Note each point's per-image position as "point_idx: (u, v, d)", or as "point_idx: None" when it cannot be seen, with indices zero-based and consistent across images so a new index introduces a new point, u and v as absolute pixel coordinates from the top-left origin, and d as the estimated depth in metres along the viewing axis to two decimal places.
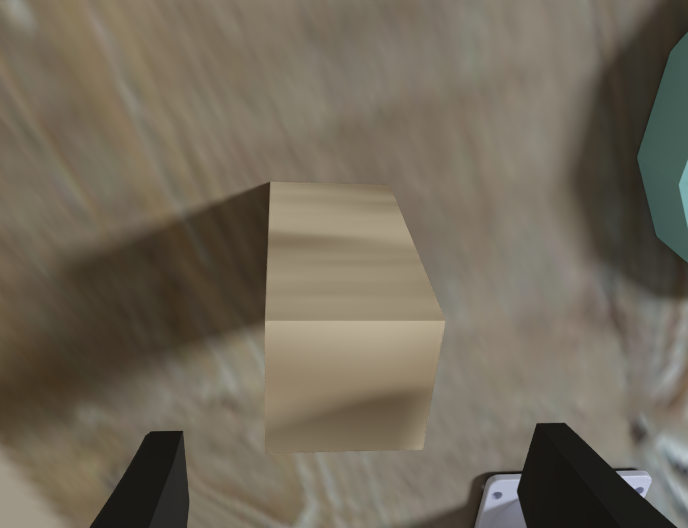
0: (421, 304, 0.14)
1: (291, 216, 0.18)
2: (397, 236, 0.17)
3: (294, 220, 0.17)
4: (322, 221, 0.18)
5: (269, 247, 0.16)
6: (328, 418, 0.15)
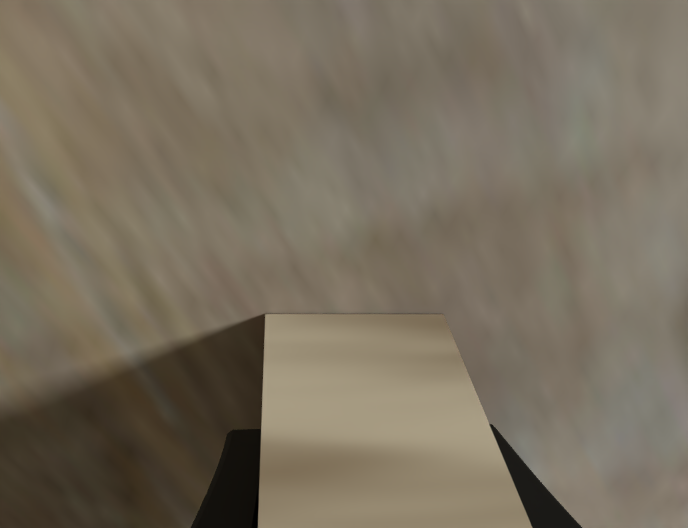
0: None
1: (299, 397, 0.11)
2: (474, 442, 0.10)
3: (304, 407, 0.11)
4: (349, 407, 0.11)
5: (262, 486, 0.09)
6: None
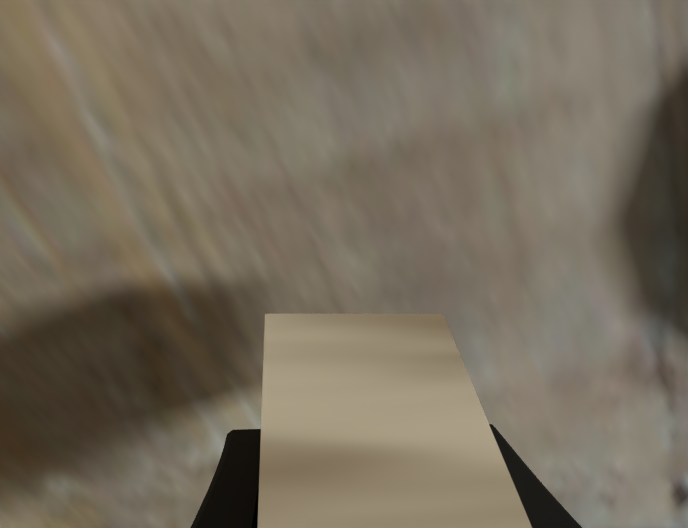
0: None
1: (298, 397, 0.11)
2: (474, 442, 0.10)
3: (304, 407, 0.11)
4: (348, 406, 0.11)
5: (261, 485, 0.09)
6: None
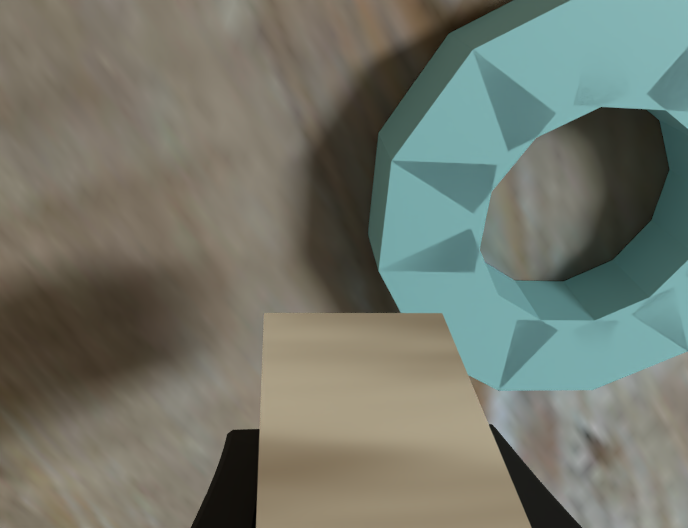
0: None
1: (298, 396, 0.11)
2: (473, 441, 0.10)
3: (302, 406, 0.11)
4: (347, 406, 0.11)
5: (260, 484, 0.09)
6: None
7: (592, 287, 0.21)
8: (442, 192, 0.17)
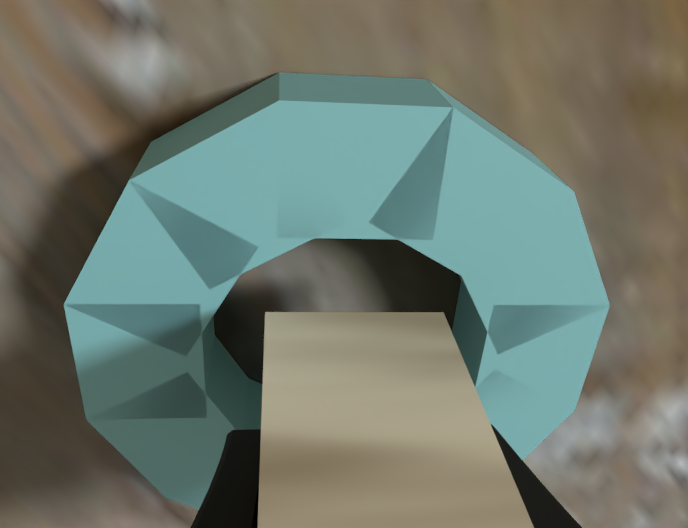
0: None
1: (299, 395, 0.11)
2: (475, 440, 0.10)
3: (304, 405, 0.11)
4: (349, 405, 0.11)
5: (261, 483, 0.09)
6: None
7: None
8: (139, 335, 0.14)
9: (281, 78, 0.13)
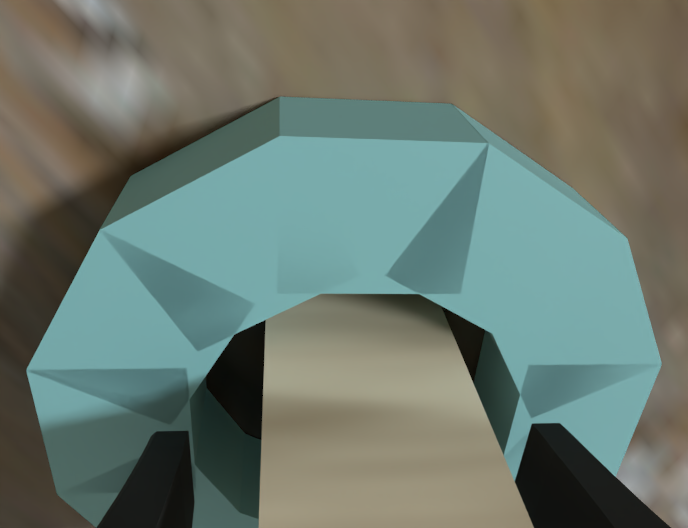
0: None
1: (298, 360, 0.12)
2: (460, 399, 0.11)
3: (303, 368, 0.12)
4: (344, 369, 0.12)
5: (264, 434, 0.10)
6: None
7: None
8: (117, 403, 0.12)
9: (282, 104, 0.11)
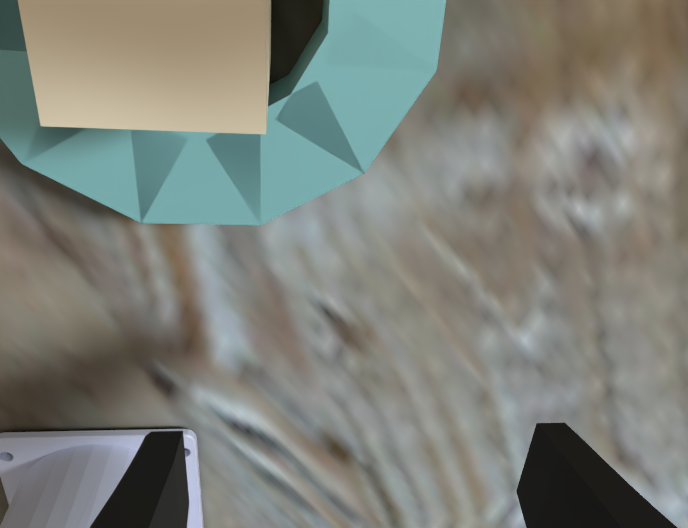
0: None
1: None
2: None
3: None
4: None
5: None
6: (121, 65, 0.10)
7: None
8: None
9: None
